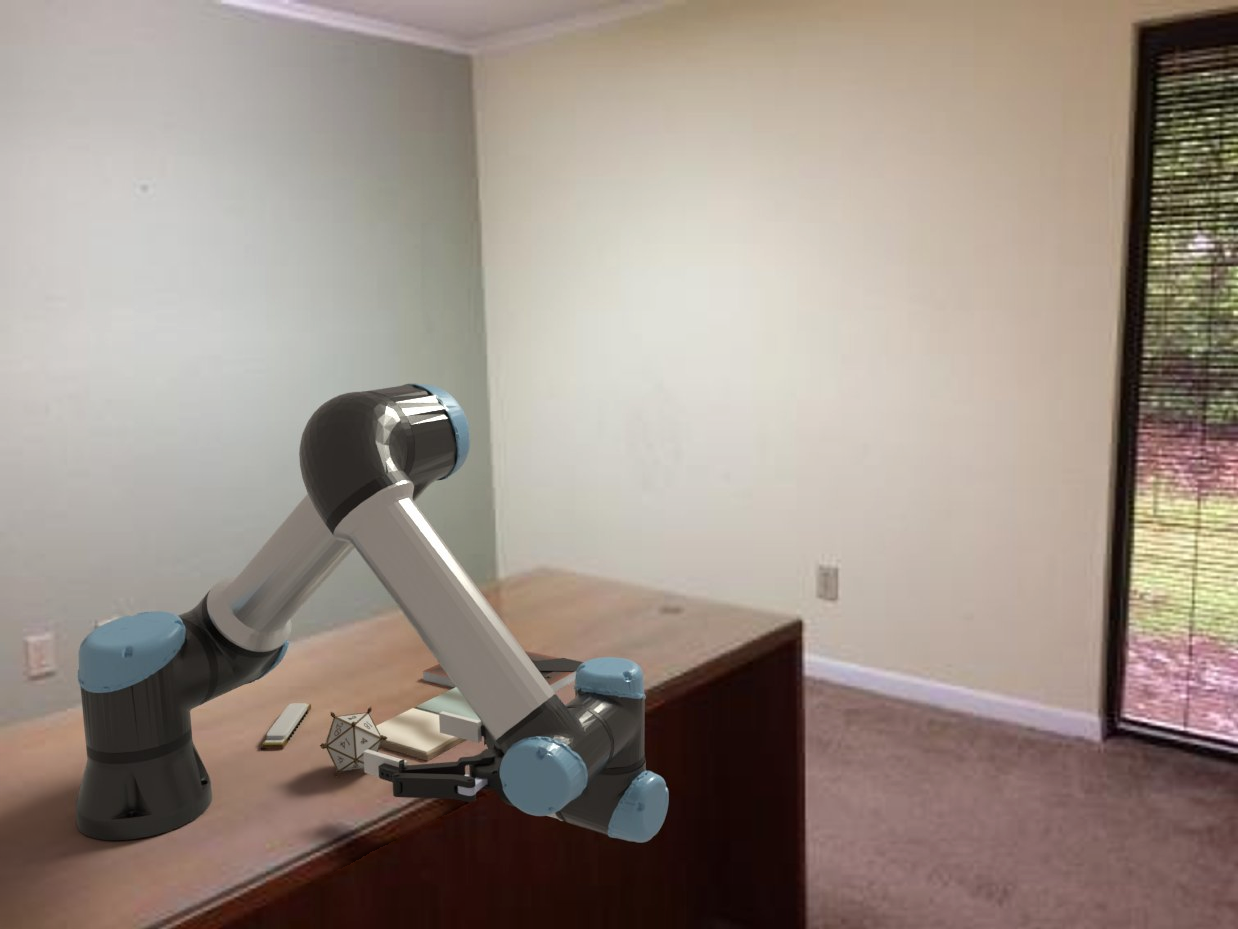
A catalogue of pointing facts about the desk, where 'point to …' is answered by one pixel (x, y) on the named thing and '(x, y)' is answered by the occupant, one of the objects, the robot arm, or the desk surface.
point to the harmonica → (285, 726)
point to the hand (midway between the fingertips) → (405, 740)
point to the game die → (351, 740)
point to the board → (425, 727)
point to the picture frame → (550, 667)
